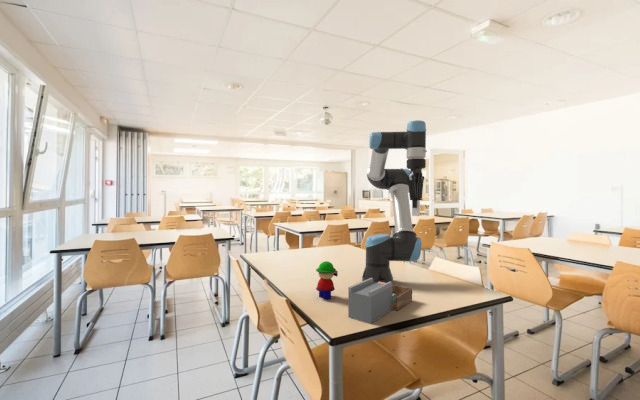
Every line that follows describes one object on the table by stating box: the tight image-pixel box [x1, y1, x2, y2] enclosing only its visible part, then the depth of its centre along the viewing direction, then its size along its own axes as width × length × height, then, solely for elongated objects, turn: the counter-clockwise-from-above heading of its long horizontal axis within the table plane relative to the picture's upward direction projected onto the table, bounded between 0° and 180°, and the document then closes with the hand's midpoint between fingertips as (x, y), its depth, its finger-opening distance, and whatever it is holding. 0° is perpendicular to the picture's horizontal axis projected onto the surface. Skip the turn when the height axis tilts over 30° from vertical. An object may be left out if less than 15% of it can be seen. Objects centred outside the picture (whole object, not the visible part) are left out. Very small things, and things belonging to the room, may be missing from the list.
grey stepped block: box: [347, 278, 393, 324], centre depth 110 cm, size 9×16×10 cm, turn 141°
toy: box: [315, 260, 338, 301], centre depth 128 cm, size 9×9×15 cm
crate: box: [391, 284, 413, 312], centre depth 121 cm, size 13×14×5 cm
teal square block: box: [392, 293, 396, 304], centre depth 120 cm, size 5×5×3 cm
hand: (415, 215), depth 126 cm, fingers closed
